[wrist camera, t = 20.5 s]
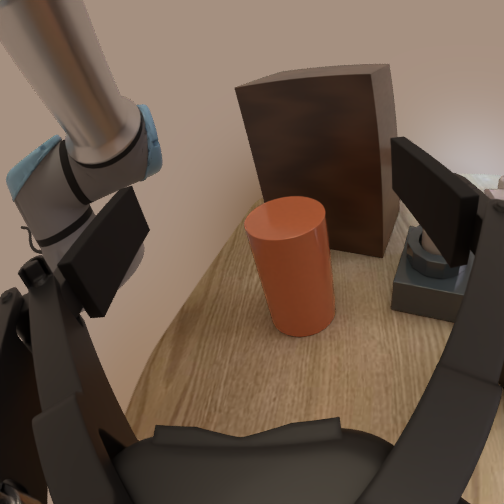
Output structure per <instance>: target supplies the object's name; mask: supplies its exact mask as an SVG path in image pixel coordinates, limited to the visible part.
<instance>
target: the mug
mask: <svg viewBox="0 0 504 504" xmlns="http://www.w3.org/2000/svg"><path fill="white" fill-rule="evenodd" d="M499 383H500V385H501V386H503V387H504V362H503V366H502V370H501V374H500V378H499Z"/></svg>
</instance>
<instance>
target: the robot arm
mask: <svg viewBox="0 0 504 504" xmlns="http://www.w3.org/2000/svg"><path fill="white" fill-rule="evenodd" d="M0 41H1V43H2V44H3V46H4V48H5V49H6V50H7V52H8V53H9V55H10V56H11V58H12V59H13V61H14V62H15V64H16V65H17V67H18V68H19V70H20V71H21V72H22V74H23V75H24V77H25V78H26V80H27V81H28V82H29V84H30V85H31V87H32V88H33V89H34V91H35V92H36V93H37V95H38V96H39V98H40V99H41V100H42V102H43V103H44V104H45V106H46V107H47V108H48V110H49V111H50V112H51V114H52V115H53V116H54V118H55V119H56V120H57V122H58V123H59V124H60V125H61V127H62V128H63V129H64V131H65V132H66V136H65V140H63V141H62V139H61V137H59V135H55V136H53V137H52V138H50V139H49V140H47V141H46V142H45V143H43V144H42V145H41V146H39V147H38V148H37V149H35V150H34V151H33V152H31V153H30V154H29V155H28V156H26V157H25V158H24V159H23V160H21V161H20V162H19V163H18V164H17V165H15V166H14V167H13V168H12V169H11V170H10V171H9V173H8V174H7V178H6V182H7V185H8V188H9V190H10V193H11V196H12V198H13V202H15V204H16V206H17V208H18V210H19V211H20V213H21V215H22V217H23V219H24V221H25V222H26V224H27V226H28V227H23V226H21V228H22V229H27V230H28V233H29V243H30V247H31V249H32V250H33V251H34V252H36V253H39V254H43V256H42V255H39V256H36V257H34V258H32V259H30V260H29V261H28V262H26V263H25V264H24V265H23V266H22V267H21V269H20V270H19V272H18V274H19V276H20V277H21V279H22V281H23V282H24V284H25V285H26V287H27V288H28V291H29V293H27V294H25V295H23V296H22V295H21V293H20V292H19V291H18V289H17V288H15V287H14V288H11V289H9V290H7V291H5V292H4V293H3V294H2V295H1V297H0V504H47V491H48V490H47V489H49V492H50V495H51V498H52V501H53V504H470V503H468V502H467V501H466V500H464V499H463V498H461V496H462V494H463V492H464V490H465V488H466V486H467V484H468V482H469V480H470V478H471V476H472V473H473V471H474V469H475V467H476V465H477V462H478V460H479V458H480V455H481V453H482V451H483V448H484V446H485V443H486V441H487V438H488V435H489V433H490V430H491V427H492V424H493V421H494V418H495V415H496V412H497V409H498V406H499V403H500V399H501V395H502V386H500V385H498V382H499V378H500V374H501V370H502V366H503V362H504V200H501V199H490V198H489V197H488V196H486V195H485V194H484V193H483V192H482V191H481V190H479V189H477V187H476V186H475V185H474V184H472V183H471V182H470V181H469V180H467V179H466V178H465V177H463V176H461V175H458V174H456V173H452V172H451V171H450V170H449V169H447V168H446V167H445V166H444V165H442V164H441V163H440V162H438V161H437V160H436V159H434V158H433V157H432V156H431V155H429V154H428V153H426V152H425V151H424V150H422V149H421V148H419V147H418V146H417V145H415V144H414V143H412V142H411V141H409V140H408V139H407V138H405V137H394V138H390V143H391V164H392V189H393V191H394V192H395V193H396V194H397V196H398V197H399V198H400V199H401V201H402V202H403V203H404V204H405V206H406V207H407V208H408V209H409V211H410V212H411V213H412V215H413V216H414V217H415V219H416V220H417V221H418V223H419V224H420V225H421V227H422V228H423V229H424V231H425V232H426V233H427V235H428V236H429V238H430V239H431V240H432V242H433V243H434V245H435V246H436V248H437V249H438V250H439V252H440V253H441V255H442V256H443V258H444V259H445V261H446V262H447V264H448V265H449V267H450V268H454V267H458V266H463V265H467V263H468V259H469V254H470V250H471V252H472V253H473V254H474V255H475V258H474V262H473V266H472V269H471V273H470V276H469V280H468V283H467V287H466V290H465V293H464V296H463V299H462V302H461V306H460V308H459V311H458V314H457V317H456V320H455V323H454V325H453V328H452V331H451V333H450V336H449V339H448V341H447V344H446V346H445V349H444V351H443V353H442V356H441V358H440V360H439V363H438V364H437V366H436V368H435V370H434V372H433V375H432V377H431V379H430V381H429V383H428V385H427V387H426V389H425V391H424V393H423V395H422V397H421V399H420V401H419V403H418V405H417V407H416V409H415V411H414V413H413V414H412V416H411V418H410V420H409V422H408V423H407V425H406V427H405V429H404V430H403V432H402V434H401V436H400V437H399V439H398V441H397V442H396V444H395V445H392V444H391V443H389V442H387V441H386V440H384V439H382V438H380V437H378V436H375V435H373V434H370V433H367V432H363V431H359V430H353V429H344V428H341V425H340V417H336V418H329V419H322V420H314V421H306V422H297V423H290V424H287V425H284V426H280V427H277V428H274V429H271V430H267V431H264V432H260V433H257V434H253V435H250V436H246V437H235V436H230V435H226V434H222V433H218V432H213V431H210V430H206V429H202V428H198V427H184V426H163V425H156V426H155V431H154V436H153V437H151V438H147V439H144V440H141V441H138V440H137V438H136V436H135V435H134V433H133V431H132V429H131V427H130V425H129V423H128V421H127V419H126V417H125V415H124V413H123V412H122V410H121V407H120V405H119V403H118V401H117V399H116V397H115V395H114V393H113V391H112V388H111V386H110V384H109V382H108V379H107V377H106V375H105V373H104V370H103V368H102V366H101V363H100V361H99V358H98V356H97V353H96V351H95V348H94V346H93V343H92V341H91V338H90V335H89V333H88V330H87V327H86V324H85V322H84V320H83V318H82V317H81V315H80V312H81V310H82V309H83V308H84V309H85V311H86V312H87V314H88V315H89V316H90V318H98V317H105V315H106V313H107V311H108V308H109V306H110V304H111V302H112V300H113V298H114V296H115V294H116V292H117V290H118V288H119V286H120V284H121V282H122V280H123V279H124V277H125V275H126V273H127V271H128V269H129V267H130V265H131V263H132V261H133V260H134V258H135V256H136V254H137V252H138V250H139V248H140V247H141V245H142V243H143V241H144V239H145V238H146V236H147V234H148V232H149V231H150V229H149V227H148V225H147V222H146V220H145V217H144V215H143V212H142V210H141V208H140V205H139V203H138V200H137V198H136V195H135V192H134V190H133V187H132V186H129V185H131V184H134V183H136V182H138V181H144V180H145V179H146V178H147V177H150V176H152V175H154V174H156V173H157V172H159V171H160V169H161V167H162V154H161V149H160V144H159V142H158V137H157V132H156V128H155V125H154V122H153V118H152V116H151V113H150V110H149V108H148V107H147V106H146V105H143V104H142V105H136V104H135V103H134V102H133V101H132V100H131V99H129V98H127V97H124V96H121V95H120V92H119V90H118V88H117V85H116V83H115V81H114V78H113V76H112V73H111V71H110V68H109V66H108V64H107V61H106V59H105V56H104V54H103V51H102V49H101V46H100V44H99V41H98V39H97V36H96V33H95V31H94V28H93V26H92V23H91V20H90V18H89V15H88V12H87V10H86V7H85V4H84V2H83V0H0ZM127 186H129V187H127ZM124 187H125V188H124ZM118 190H119V191H118ZM116 191H118V192H117V193H116V194H115V195H114V196H113V197H112V198H111V199H110V201H109V202H108V203H107V204H106V205H105V206H104V207H103V209H102V210H101V211H100V212H99V213H98V214H97V215H95V214H94V212H93V210H92V209H91V206H90V203H92V202H94V201H96V200H98V199H100V198H102V197H105V196H107V195H109V194H111V193H113V192H116ZM31 233H32V235H33V236H34V238H35V240H36V241H37V243H38V245H39V246H40V248H41V250H37V249H36V248H34V246H33V244H32V240H31V239H32V238H31ZM17 334H18V335H19V337H20V338H21V339H22V340H23V341H21V340H20V338H19V337H18V335H17ZM47 486H48V488H47Z"/></svg>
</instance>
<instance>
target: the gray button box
mask: <svg viewBox="0 0 504 504" xmlns="http://www.w3.org/2000/svg"><path fill="white" fill-rule="evenodd" d="M421 240H422V227H421V225H419V226H417V227H413V226H410V227H409V231H408V235H407V238H406V242H405V245H404V249H403V252H402V255H401V259H400V262H399V265H398V268H397V272H396V275H395V278H394V281H393V291H392V302H391V309H393V310H397V311H402V312H407V313H411V314H416V315H421V316H426V317H431V318H435V319H440V320H445V321H450V322H455V320H456V317H457V314H458V311H459V308H460V306H461V302H462V299H463V296H464V293H465V290H466V287H467V283H468V280H469V276H470V273H471V269H472V266H473V262H474V258H475V255H474V254H473V253H472V252H471V250H470V254H469V259H468V263H467V265H463V266H458V267H454V268H450V267H449V265H448V264H447V262H446V261H445V259H444V258H443V256H441V255H435V254H431V253H429V252H428V251H426V250H424V249H423V247H422V244H421Z"/></svg>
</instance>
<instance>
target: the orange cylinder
mask: <svg viewBox="0 0 504 504" xmlns="http://www.w3.org/2000/svg"><path fill="white" fill-rule="evenodd" d="M244 227H245V231H246V234H247V237H248V241H249V244H250V247H251V251H252V254H253V258H254V261H255V264H256V268H257V271H258V274H259V278H260V281H261V284H262V288H263V291H264V295H265V298H266V301H267V305H268V308H269V311H270V315H271V318H272V322H273V324H274V325H275V327H276V328H277V329H278V330H279V331H281V332H282V333H284V334H287V335H290V336H295V337H304V336H310V335H313V334H316V333H318V332H320V331H322V330H323V329H325V328H326V327H327V326H328V325H329V324H330V323H331V321H332V320H333V318H334V316H335V310H336V308H335V295H334V284H333V273H332V263H331V254H330V245H329V236H328V228H327V220H326V213H325V208H324V206H323V205H322V204H321V203H320V202H318V201H317V200H315V199H312V198H308V197H302V196H290V197H282V198H278V199H274V200H271V201H268V202H266V203H264V204H262V205H260V206H258V207H256V208H255V209H254V210H253V211H251V212H250V213H249V215H248V216H247V217H246V219H245V223H244Z"/></svg>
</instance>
